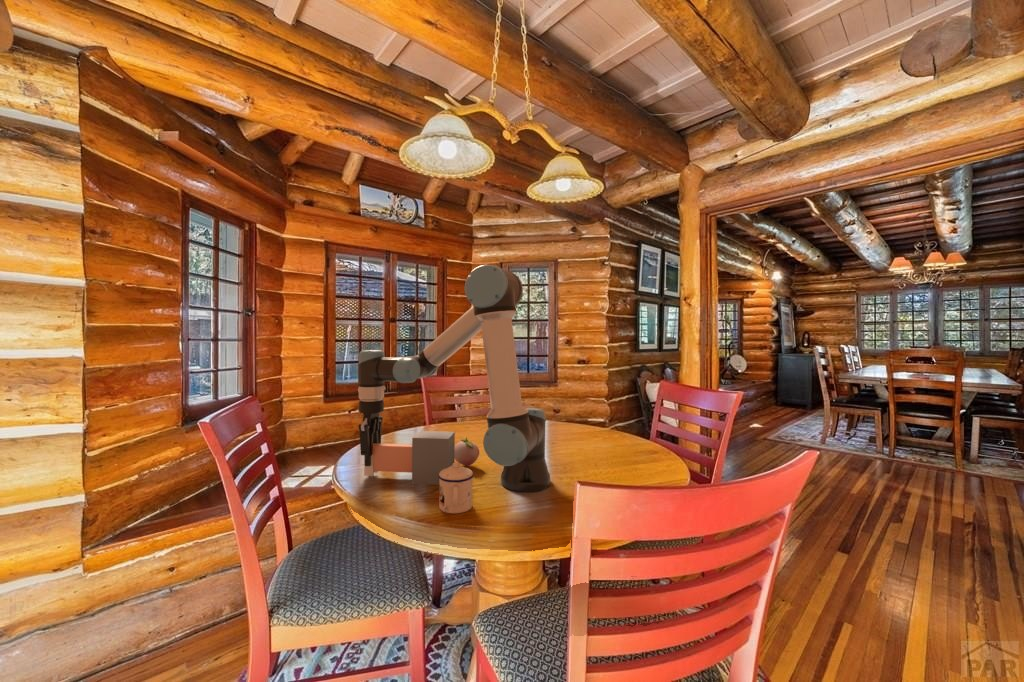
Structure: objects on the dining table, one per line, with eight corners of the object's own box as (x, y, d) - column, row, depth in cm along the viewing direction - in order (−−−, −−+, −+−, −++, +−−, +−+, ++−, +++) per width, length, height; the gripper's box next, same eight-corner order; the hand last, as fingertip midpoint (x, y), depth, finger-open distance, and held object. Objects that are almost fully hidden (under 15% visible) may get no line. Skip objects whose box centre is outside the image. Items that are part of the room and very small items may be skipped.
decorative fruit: (447, 465, 142) (448, 436, 142) (468, 461, 147) (468, 433, 147) (462, 473, 135) (462, 442, 134) (483, 468, 140) (483, 438, 140)
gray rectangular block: (454, 474, 133) (454, 431, 133) (447, 485, 124) (448, 438, 124) (420, 473, 134) (420, 430, 134) (411, 483, 125) (411, 437, 125)
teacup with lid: (439, 500, 113) (439, 458, 113) (472, 499, 114) (473, 457, 114) (436, 520, 101) (436, 473, 101) (473, 519, 102) (474, 472, 102)
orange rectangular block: (419, 470, 131) (419, 444, 130) (416, 472, 128) (416, 447, 128) (368, 468, 132) (368, 443, 132) (364, 470, 129) (364, 445, 129)
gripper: (369, 395, 138) (369, 465, 138) (348, 403, 122) (348, 482, 123) (391, 395, 137) (391, 466, 138) (372, 404, 122) (372, 483, 122)
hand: (371, 473), depth 130 cm, fingers closed on orange rectangular block, 2 cm apart
